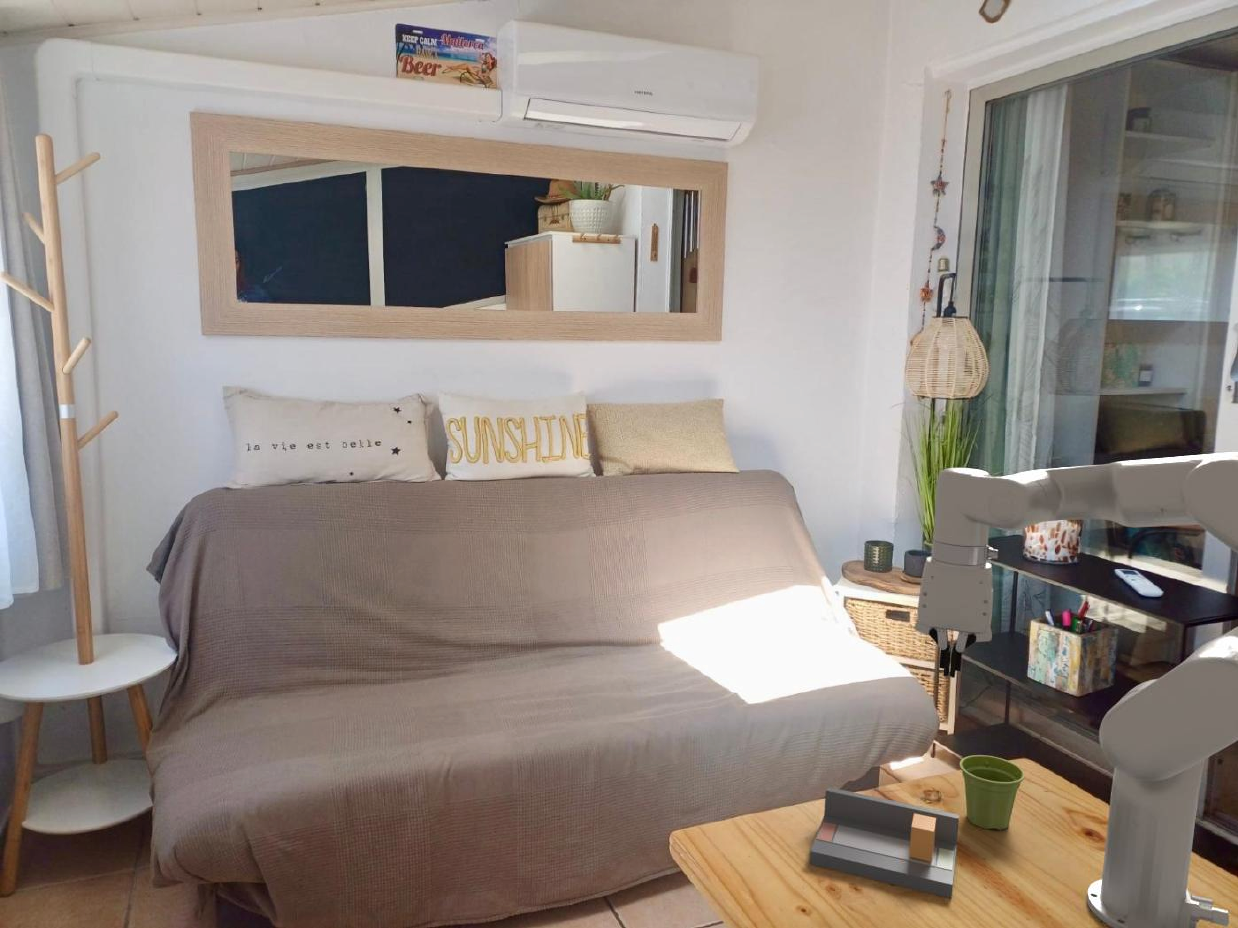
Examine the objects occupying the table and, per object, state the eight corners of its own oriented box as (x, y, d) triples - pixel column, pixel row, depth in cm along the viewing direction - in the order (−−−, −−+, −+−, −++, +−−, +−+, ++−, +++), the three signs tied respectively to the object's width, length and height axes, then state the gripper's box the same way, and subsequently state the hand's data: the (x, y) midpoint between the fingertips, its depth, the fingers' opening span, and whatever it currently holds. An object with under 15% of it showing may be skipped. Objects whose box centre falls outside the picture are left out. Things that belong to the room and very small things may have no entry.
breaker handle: (933, 847, 131) (936, 817, 130) (931, 861, 127) (934, 831, 127) (911, 842, 132) (914, 813, 132) (909, 856, 129) (911, 826, 128)
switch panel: (956, 852, 134) (959, 814, 133) (951, 898, 123) (954, 856, 122) (824, 823, 141) (827, 786, 140) (809, 863, 130) (811, 824, 129)
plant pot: (944, 818, 144) (948, 766, 142) (973, 799, 150) (977, 748, 149) (1002, 843, 137) (1007, 789, 136) (1030, 822, 143) (1035, 770, 142)
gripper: (1014, 553, 134) (1004, 674, 137) (908, 542, 140) (899, 658, 142) (1015, 565, 127) (1003, 691, 130) (903, 552, 133) (894, 674, 136)
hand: (949, 673), depth 136 cm, fingers closed
